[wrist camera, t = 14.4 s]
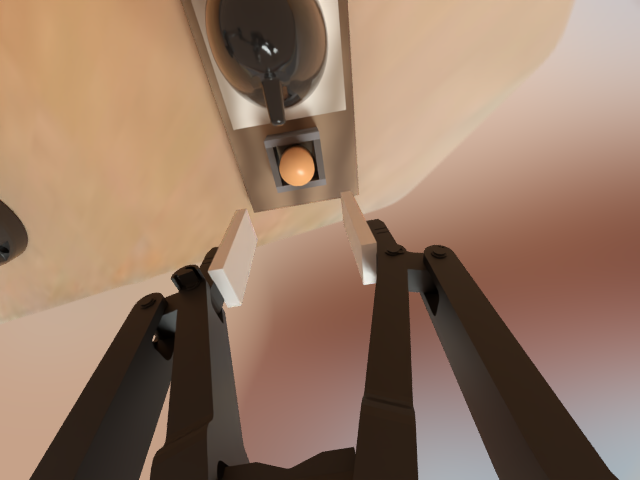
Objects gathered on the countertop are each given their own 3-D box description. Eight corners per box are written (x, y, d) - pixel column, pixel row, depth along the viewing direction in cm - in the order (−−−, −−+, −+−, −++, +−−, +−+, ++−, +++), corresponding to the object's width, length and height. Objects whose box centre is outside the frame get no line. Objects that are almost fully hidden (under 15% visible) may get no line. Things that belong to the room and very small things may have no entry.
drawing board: (256, 206, 37) (250, 224, 33) (180, -20, 23) (151, -45, 19) (356, 189, 37) (364, 204, 32) (340, -51, 23) (351, -83, 18)
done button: (285, 180, 31) (284, 188, 28) (277, 148, 28) (275, 154, 26) (315, 174, 31) (316, 182, 28) (310, 142, 28) (311, 148, 26)
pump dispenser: (244, 114, 28) (201, 141, 16) (210, -9, 22) (97, -125, 10) (328, 101, 28) (354, 117, 15) (316, -26, 22) (342, -164, 10)
